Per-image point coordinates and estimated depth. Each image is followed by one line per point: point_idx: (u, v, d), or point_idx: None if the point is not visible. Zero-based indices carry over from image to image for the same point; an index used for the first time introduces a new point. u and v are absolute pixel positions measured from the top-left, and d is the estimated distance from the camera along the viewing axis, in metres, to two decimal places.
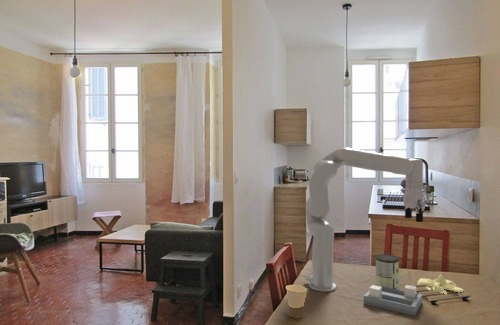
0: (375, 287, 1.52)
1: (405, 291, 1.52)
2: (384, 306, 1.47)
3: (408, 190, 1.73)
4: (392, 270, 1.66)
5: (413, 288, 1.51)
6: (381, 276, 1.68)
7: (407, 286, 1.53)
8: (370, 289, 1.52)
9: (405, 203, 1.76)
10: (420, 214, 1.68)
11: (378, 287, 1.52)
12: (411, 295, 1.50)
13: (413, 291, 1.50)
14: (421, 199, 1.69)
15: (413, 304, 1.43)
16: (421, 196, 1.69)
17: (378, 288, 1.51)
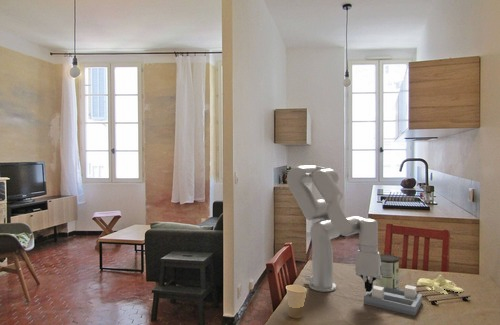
0: (377, 288, 1.52)
1: (405, 291, 1.52)
2: (384, 306, 1.47)
3: (366, 256, 1.51)
4: (392, 270, 1.66)
5: (413, 288, 1.51)
6: None
7: (407, 286, 1.53)
8: (372, 290, 1.51)
9: (360, 271, 1.53)
10: (372, 283, 1.53)
11: (380, 287, 1.52)
12: (411, 295, 1.50)
13: (413, 291, 1.50)
14: None
15: (413, 304, 1.43)
16: (380, 261, 1.52)
17: (380, 289, 1.51)
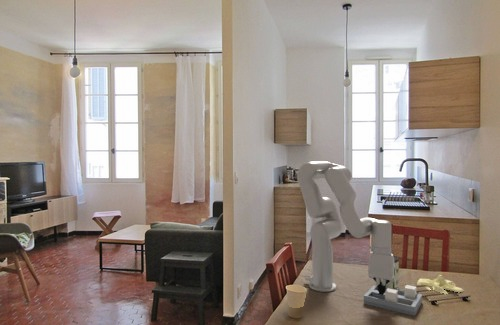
0: (391, 290, 1.49)
1: (405, 291, 1.52)
2: (384, 306, 1.47)
3: (379, 259, 1.48)
4: None
5: (413, 288, 1.51)
6: None
7: (407, 286, 1.53)
8: (386, 292, 1.48)
9: (373, 273, 1.50)
10: (385, 285, 1.50)
11: (394, 290, 1.49)
12: (411, 295, 1.50)
13: (413, 291, 1.50)
14: (394, 267, 1.48)
15: (413, 304, 1.43)
16: (394, 263, 1.49)
17: (394, 291, 1.47)
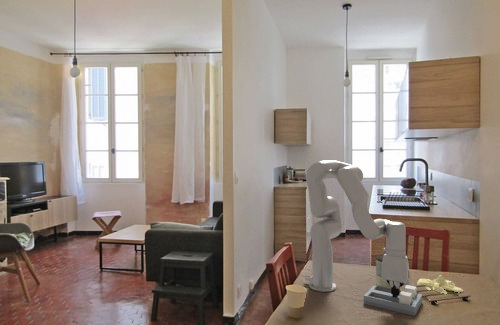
0: (405, 293, 1.45)
1: (405, 291, 1.52)
2: (384, 306, 1.47)
3: (393, 261, 1.45)
4: None
5: (413, 288, 1.51)
6: (381, 276, 1.68)
7: (407, 286, 1.53)
8: (400, 295, 1.45)
9: (386, 276, 1.47)
10: (399, 288, 1.47)
11: (408, 293, 1.45)
12: None
13: (413, 291, 1.50)
14: None
15: (413, 304, 1.43)
16: (408, 266, 1.45)
17: (408, 294, 1.44)
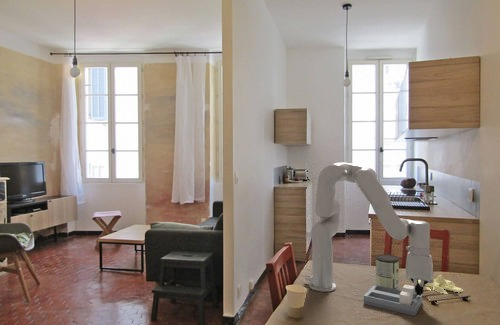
0: (405, 293, 1.45)
1: None
2: (384, 306, 1.47)
3: (418, 259, 1.48)
4: (392, 270, 1.66)
5: (411, 288, 1.51)
6: (381, 276, 1.68)
7: (406, 286, 1.54)
8: (400, 295, 1.45)
9: (411, 274, 1.49)
10: None
11: (408, 293, 1.45)
12: None
13: (411, 291, 1.50)
14: None
15: (413, 304, 1.43)
16: (432, 264, 1.48)
17: (409, 294, 1.44)
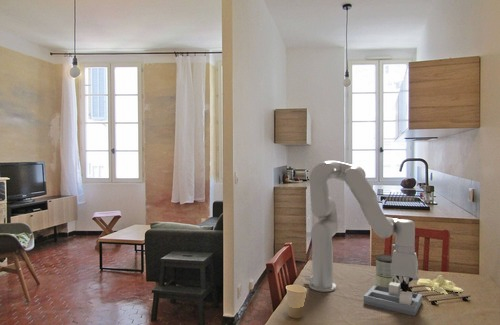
0: (405, 293, 1.45)
1: (389, 288, 1.55)
2: (384, 306, 1.47)
3: (403, 257, 1.51)
4: None
5: (397, 285, 1.55)
6: (381, 276, 1.68)
7: (392, 283, 1.57)
8: (400, 295, 1.45)
9: (396, 271, 1.53)
10: (408, 283, 1.53)
11: (408, 293, 1.45)
12: (395, 292, 1.54)
13: (397, 288, 1.53)
14: (417, 265, 1.51)
15: (413, 304, 1.43)
16: (417, 262, 1.51)
17: (409, 294, 1.44)
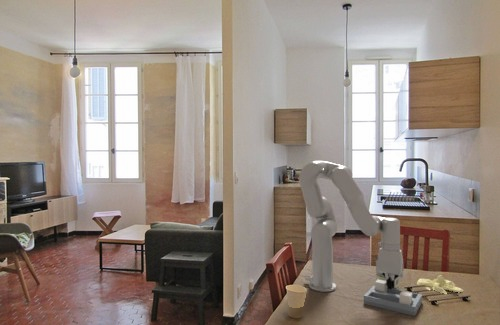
0: (405, 293, 1.45)
1: (376, 285, 1.59)
2: (384, 306, 1.47)
3: (388, 255, 1.54)
4: None
5: (383, 282, 1.58)
6: (381, 276, 1.68)
7: (378, 280, 1.60)
8: (400, 295, 1.45)
9: (382, 268, 1.56)
10: None
11: (408, 293, 1.45)
12: (381, 289, 1.57)
13: (383, 285, 1.57)
14: None
15: (413, 304, 1.43)
16: (402, 259, 1.55)
17: (409, 294, 1.44)
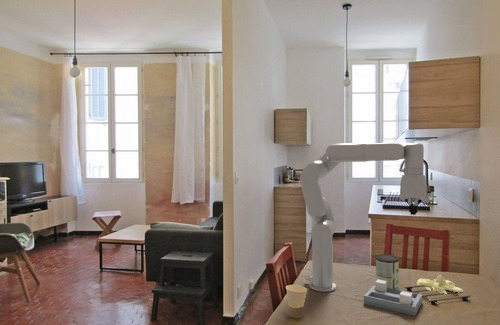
0: (405, 293, 1.45)
1: (376, 285, 1.59)
2: (384, 306, 1.47)
3: (412, 179, 1.53)
4: (392, 270, 1.66)
5: (383, 282, 1.58)
6: (381, 276, 1.68)
7: (378, 280, 1.60)
8: (400, 295, 1.45)
9: (405, 194, 1.54)
10: (417, 206, 1.54)
11: (408, 293, 1.45)
12: (381, 289, 1.57)
13: (383, 285, 1.57)
14: (426, 187, 1.53)
15: (413, 304, 1.43)
16: None
17: (409, 294, 1.44)
